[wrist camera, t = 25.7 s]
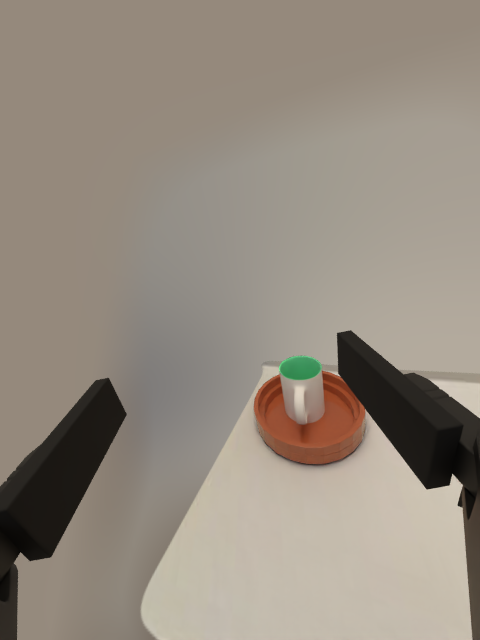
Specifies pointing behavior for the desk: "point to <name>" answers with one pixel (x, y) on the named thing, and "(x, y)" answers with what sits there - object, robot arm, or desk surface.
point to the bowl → (312, 438)
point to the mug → (302, 389)
